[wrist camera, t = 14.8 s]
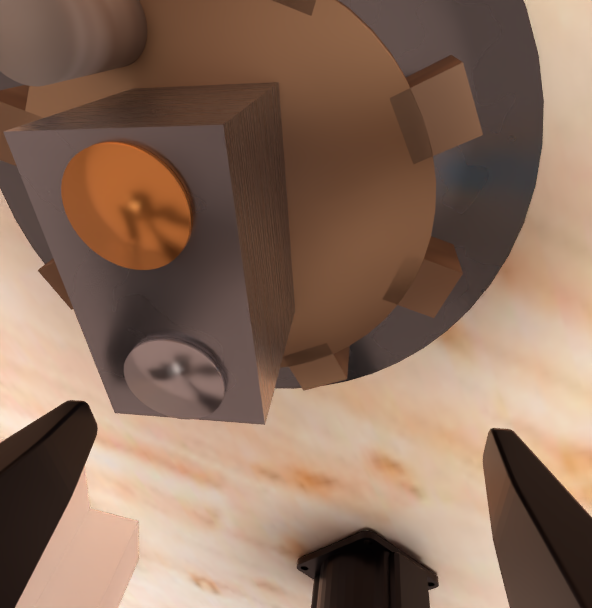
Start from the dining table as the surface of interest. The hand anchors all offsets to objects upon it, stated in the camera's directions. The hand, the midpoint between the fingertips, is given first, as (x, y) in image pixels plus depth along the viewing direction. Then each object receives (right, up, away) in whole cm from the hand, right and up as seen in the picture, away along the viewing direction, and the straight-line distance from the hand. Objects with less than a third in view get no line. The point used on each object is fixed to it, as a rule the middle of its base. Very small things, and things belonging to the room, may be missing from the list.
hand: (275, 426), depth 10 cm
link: (-2, +5, +4) cm, 7 cm away
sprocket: (-1, +7, +6) cm, 9 cm away
